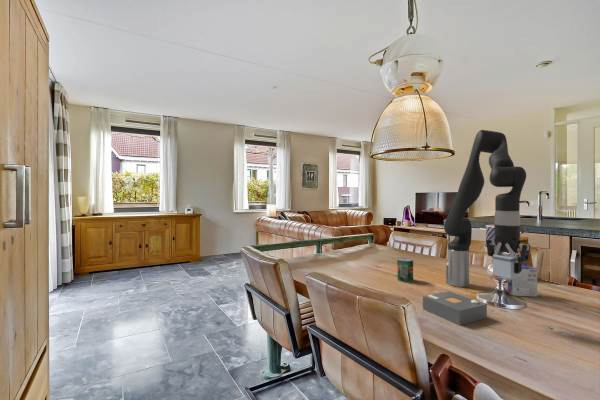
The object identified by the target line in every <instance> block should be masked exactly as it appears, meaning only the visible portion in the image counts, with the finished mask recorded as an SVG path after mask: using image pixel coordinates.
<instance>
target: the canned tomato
mask: <svg viewBox="0 0 600 400" xmlns="http://www.w3.org/2000/svg"><path fill="white" fill-rule="evenodd" d="M396 259H397V264H396V265H397V266H396V267H397V268H396V269H397V273H396V274H397V275H396V277H397V281H398V282H402V283H412V282H414V259H413V258H410V257H398V258H396Z"/></svg>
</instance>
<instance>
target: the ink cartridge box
mask: <svg viewBox="0 0 600 400" xmlns="http://www.w3.org/2000/svg"><path fill="white" fill-rule="evenodd" d="M522 263H523V264H522V267H521V277H518V278H513V279H512V280H511V281H510V282H508V283H507V293H508V294H509V295H511V296H516V297H517V296H520V297H538V268H537V267H531V266H526V265H525V262H522Z"/></svg>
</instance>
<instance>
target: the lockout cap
mask: <svg viewBox="0 0 600 400" xmlns="http://www.w3.org/2000/svg"><path fill="white" fill-rule="evenodd" d="M517 258H518V257H517ZM514 263H515V262H514V258H513V257H512V256H511V255H508V254H503V253H502V254H498V255H493V257H492V275H493V276H498V277H500V278H504V279H507V278H509V279H513V278H518V277H521V272H520V273H518V274H516V273H514ZM521 267H522V264H521Z"/></svg>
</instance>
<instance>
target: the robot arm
mask: <svg viewBox="0 0 600 400" xmlns="http://www.w3.org/2000/svg"><path fill="white" fill-rule="evenodd" d="M481 152H482V153H485V154H486V153H488V154H490V155H489V157H488V165H489V167H490V173H489V182H490V184H491V185H492V186H493V187H495V188H511V189H510V191H508V192H504V193H499V194H496V195H495V201H494V202H495V206H494V207H495V208H494V210H495V213H494V216H493V217H494V221H493V222H494V223H493V224H494V229H493V231H494V232H493V233H494V239H491V238H490V239H486V240H485V243H486V244H485V245H486V251H487V256H488V257H491V258H493V255H498V254H503V252H507V253H510V255H511V256H512V257H513V258H514V262H515V263H514V273H516V274H518V273H520V272H521V264H522V262H526V261H528V258H529V253H530V251H531V245H530V243H529V244H522V243H521V242H520V237H521V214H520V209H521V208H520V205H521V203H520V201H521V194H522V191H523V187H524V185H525V182H526V179H527V172H526V170H525V169H524V168H523V166H515V165H514V162H513V160H512V158H511V156H510V155H509V148H508V141H507V137H506V135H505V134H504V133H502V132H499V131H493V130H488V129H487V130H486V129H485V130H484V129H480V130H479V131H478V132H476V134H475V137H474V140H473V143H472V148H471V150H470V155H469V159H468V162H467V165H466V168H465V170H464V173H463V175H462V178H461V180H460V184H459V187H458V190H457V193H456V196H455V199H454V200H453V203H452V206H451V208H450V211H449V213H448V215H447V216H446V218H445V221H444V224H443V225H444V227H443V229H444V232H445V234H446V235H448V236H450V237H454V238H453V240H452V241H450V242H449V243H447V263H446V265H445V267H446V269H445V270H446V271H445V274H446V275H445V279H446V280H445V281H446V283H448V284H449V285H450V286H453V287H459V288H466V287H469V286H470V247H471V244H472V234H473V233H472V232H473V231H472V230H473V229H472V228H473V227H472V222H471V220H470V219H469V218H468V217H465V213H467V211H468V209H469V208H471V207H472V205H473V204H474V203H475V202H476V201H477V200H478V198H479V197H480V195H481V194H482V191H483V188H484V185H485V177H484V173H483V171H482V167H481V164H480V155H481ZM495 246H496V247H495ZM519 247H520V249H521V256H520V252H519V250H518V248H519ZM514 252H515V253H514ZM517 257H518V258H517Z"/></svg>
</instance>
